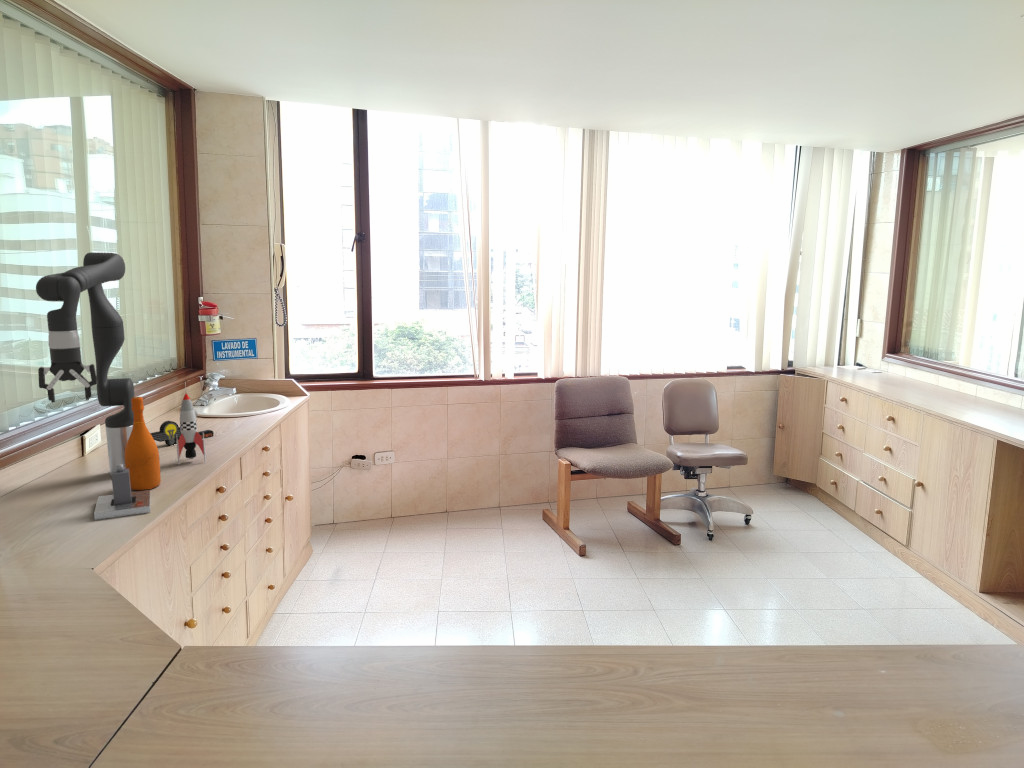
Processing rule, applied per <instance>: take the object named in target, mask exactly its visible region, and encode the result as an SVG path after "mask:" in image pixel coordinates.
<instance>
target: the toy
mask: <svg viewBox="0 0 1024 768" xmlns="http://www.w3.org/2000/svg"><path fill="white" fill-rule="evenodd" d="M186 385H187V383H186V381H185V382H184V387H185V390H184V391H185V394H184V396H183V398H182V401H181V404H180V405H181V406H180V411H179V412H180V413H179V427H180V431H181V434H182V435H181V436H180V438H179V441H178V439H177V441H176V443H177V445H176V452H177V465H178V464H180V465H181V460H180V459H181V458H180V457H181V454H182V451H183V449H185V458H186V459H194V458H196V457H197V452H196V448H197V446H198V448H199V449H200V451H201V453H202V454H203V459H204V462H205V461H206V462H207V456H206V444H205V442H206V441H205V439H204V434H203V439H202V438H201V436H200V434H199V433H197V432H198V423H197V421H198V420H197V418H198V411H197V410H196V409H195V408H194V406H193V401H192V400H191V398H190V397H189V394H187V386H186ZM176 437H177V434H176ZM206 462H205V463H206Z"/></svg>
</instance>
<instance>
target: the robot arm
mask: <svg viewBox="0 0 1024 768" xmlns="http://www.w3.org/2000/svg"><path fill="white" fill-rule="evenodd" d="M82 263H83V264H82V266H81V265H80V266H77V267H74V268H71V269H68V270H66V271H64V272H60V273H53V274H47V275H44V276H42V277H40V278H39V280H37V282H36V285H35V292H36V295H38V297H39V298H40V299H42V300H43V301H46V302H63V303H62V305H61V307H60V308H57V309H52V310H49V311H48V312H47V314H46V320H47V329H48V347H49V356H50V366H49V367H46V366H40V367H39V368H37V369H38V370H37V371H38V372H37V374H38V388H39V389H45V390H46V391H47V399H48V401H50V402H51V403H55V402H56V395H55V389H54V386H55V385H56V384H57V382H58V381H61V382H66V381H72V382H73V381H76V380H77V381H78V382H80V383H81V384H82V385H83V386H84V395H85V400H86V401H88V400H90V398H91V397H92V388H91V387H92V386H93V387H94V386H96V395H97V401H98V404H99V405H100V406H101V407H117V406H118V407H120V406H123V408H122V409H121V410H120V411H117V413H114V414H111V415H108V416H106V417H105V420H104V424H105V434H106V444H107V445H106V446H107V456H108V457H107V458H108V464H109V475H110V476H111V474H112V470H117V468H116V465H118V464H123V468H124V469H126V466H125V449H126V445H127V442H128V439H129V437H130V434H131V432H132V429H133V423H134V412H133V411H132V402H131V399H132V398H133V397H135V386H134V381H133V380H132V379H131V378H127V377H126V378H124V377H123V378H108V373H109V370H110V367H111V365H112V363H113V361H114V360H115V358H116V356H117V354H119V352H120V350H121V349H122V346H123V344H124V342H125V339H126V338H125V330H124V328H125V327H124V320H123V319H122V316H121V315H120V313H119V312H118V311H117V309H116V308H115V307H114V306H113V304H112V303H111V302H110V300H109V299H108V297H107V296H106V293H105V292H104V288H103V284H104V283H108V282H116V281H119V280H121V279H122V278H123V277H124V276H125V273H126V263H125V261H124V259H123V257H122V256H121V255H120V254H118V253H116V252H115V253H114V252H87V253H86V254H84V257H83V261H82ZM85 291H87V295H88V301H89V312H90V322H91V335H92V342H93V343H92V344H93V350H94V357H95V364H94V363H91V364H88V365H85V364H83V362H82V354H81V351H82V350H81V342H80V336H79V332H78V323H77V311H78V305H79V301H80V296H81V293H83V292H85ZM84 370H86V372H88V373H89V374H90V379H91V380H90V381H88V379H86V377H85V376H84V375H83V374H82V373H83V371H84ZM48 372H50V373H51V374H53V376H54V377H53V378H52V379H51V380H50V382H49V383H46V375H47V374H48Z"/></svg>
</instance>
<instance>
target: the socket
mask: <svg viewBox="0 0 1024 768" xmlns="http://www.w3.org/2000/svg"><path fill="white" fill-rule="evenodd" d="M131 496H132V503H131V504H123V505H116V506H114V497H113V494H107V495H100V496H97V500H96V504H95V508H94V511H93V516H94V521H100V520H107V519H114V518H120V517H128V516H135V515H141V514H142V515H143V514H147V513H148V514H149V513H151V498H152V497H151V489H148V490H137V491H131ZM106 518H107V519H106Z"/></svg>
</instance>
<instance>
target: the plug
mask: <svg viewBox="0 0 1024 768" xmlns="http://www.w3.org/2000/svg"><path fill="white" fill-rule="evenodd" d="M116 468H117V470H112V474H111V475H110V476H111V484H112V485H111V487H112V495H113V497H114V506H116V505H123V504H131V503H132V496H131V492H132V489H131V485H130V474H129V469H124V468H123V464H118V465H116Z"/></svg>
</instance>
